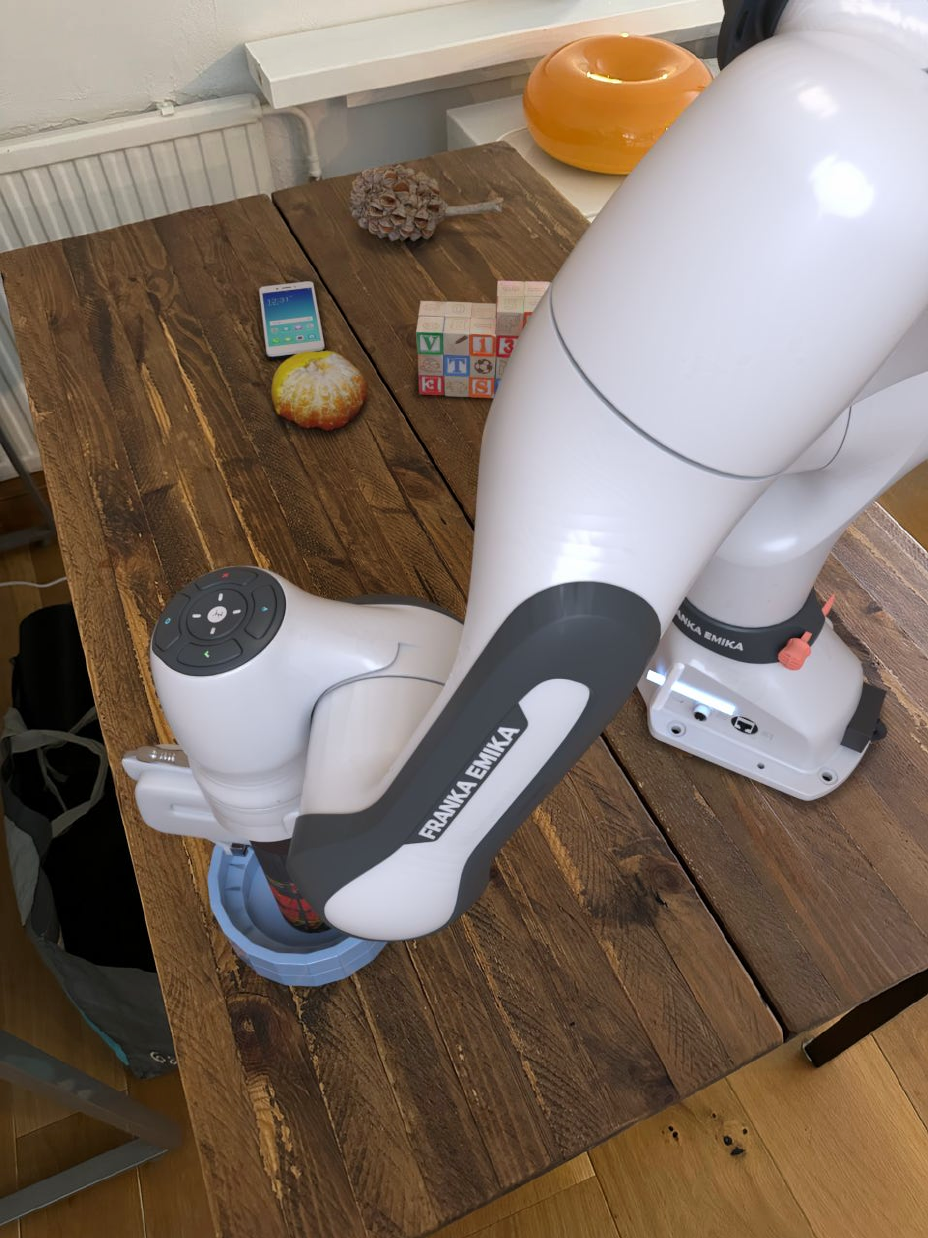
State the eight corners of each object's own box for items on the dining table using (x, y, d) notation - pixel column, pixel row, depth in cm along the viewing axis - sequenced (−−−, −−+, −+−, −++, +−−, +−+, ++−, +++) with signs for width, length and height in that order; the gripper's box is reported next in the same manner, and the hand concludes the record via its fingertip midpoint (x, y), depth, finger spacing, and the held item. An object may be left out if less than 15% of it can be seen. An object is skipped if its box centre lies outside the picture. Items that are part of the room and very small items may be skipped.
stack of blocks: (418, 396, 114) (413, 308, 105) (423, 364, 118) (418, 275, 108) (595, 403, 113) (607, 315, 104) (594, 370, 117) (606, 282, 108)
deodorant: (269, 880, 77) (232, 794, 65) (337, 850, 78) (314, 761, 66) (293, 946, 73) (258, 869, 62) (364, 914, 75) (344, 832, 63)
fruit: (283, 447, 108) (267, 381, 104) (275, 412, 117) (259, 350, 112) (378, 427, 110) (367, 361, 105) (363, 394, 118) (352, 331, 114)
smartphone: (265, 355, 118) (257, 286, 127) (267, 361, 119) (259, 292, 128) (325, 348, 119) (313, 280, 128) (326, 353, 120) (314, 285, 128)
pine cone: (352, 258, 133) (345, 189, 125) (352, 221, 139) (345, 153, 131) (509, 250, 134) (511, 182, 126) (502, 214, 139) (504, 147, 132)
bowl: (442, 882, 77) (440, 851, 73) (318, 1030, 70) (307, 1007, 66) (312, 782, 83) (303, 748, 78) (186, 911, 76) (167, 882, 71)
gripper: (94, 789, 59) (153, 876, 70) (417, 834, 57) (426, 916, 68) (131, 704, 63) (181, 799, 74) (435, 744, 61) (440, 835, 72)
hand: (301, 855), depth 71 cm, fingers open, 8 cm apart
